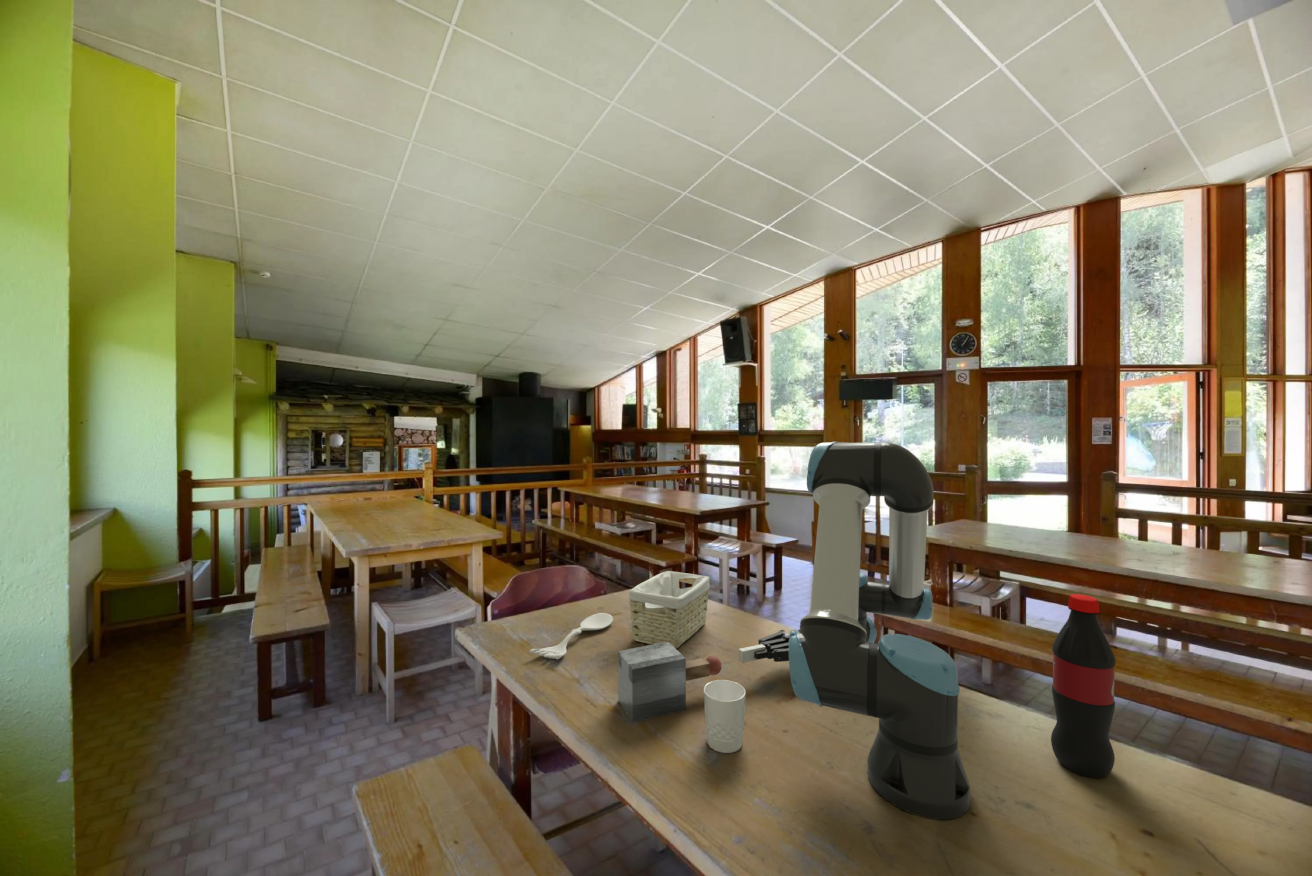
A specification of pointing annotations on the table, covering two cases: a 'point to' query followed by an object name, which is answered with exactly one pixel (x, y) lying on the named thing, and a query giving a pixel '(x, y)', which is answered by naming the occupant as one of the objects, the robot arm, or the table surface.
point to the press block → (651, 681)
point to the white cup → (724, 715)
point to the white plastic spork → (589, 623)
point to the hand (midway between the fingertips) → (740, 655)
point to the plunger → (702, 668)
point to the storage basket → (668, 608)
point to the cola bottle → (1083, 691)
